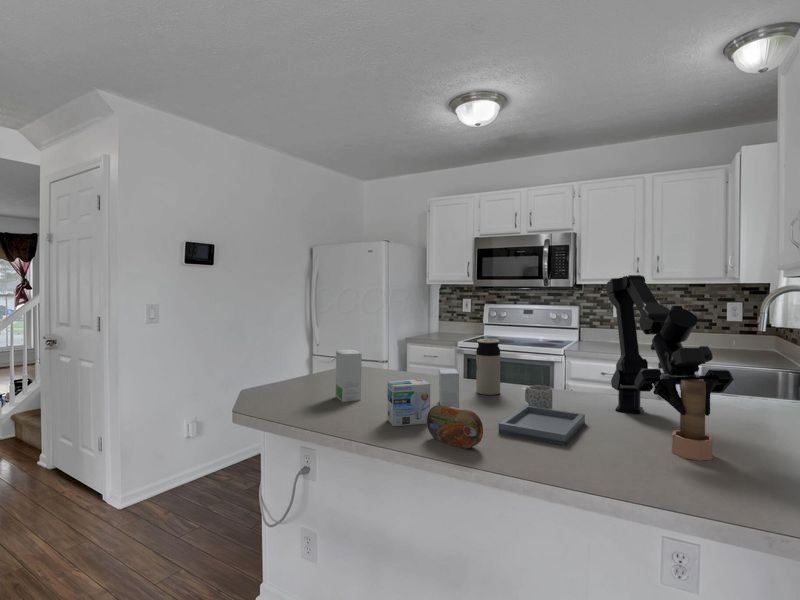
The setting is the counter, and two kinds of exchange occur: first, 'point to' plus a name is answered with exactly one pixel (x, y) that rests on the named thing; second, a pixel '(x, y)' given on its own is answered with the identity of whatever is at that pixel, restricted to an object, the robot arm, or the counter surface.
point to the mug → (539, 396)
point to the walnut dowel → (693, 409)
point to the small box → (449, 387)
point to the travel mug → (488, 367)
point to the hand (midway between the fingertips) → (696, 414)
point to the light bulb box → (408, 402)
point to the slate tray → (543, 424)
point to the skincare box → (348, 375)
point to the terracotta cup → (692, 447)
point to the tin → (455, 426)
